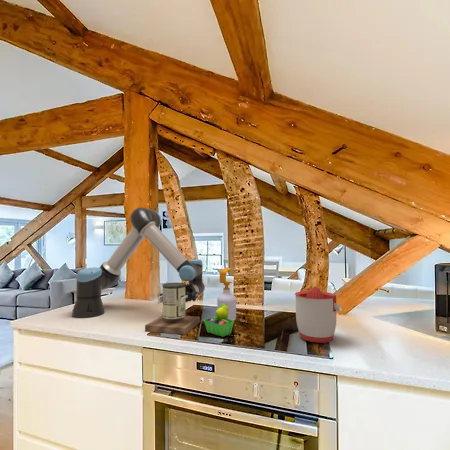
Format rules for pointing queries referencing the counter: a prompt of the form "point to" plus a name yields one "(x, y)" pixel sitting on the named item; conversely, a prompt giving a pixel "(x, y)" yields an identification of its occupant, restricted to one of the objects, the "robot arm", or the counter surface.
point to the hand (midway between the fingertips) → (169, 300)
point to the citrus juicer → (316, 315)
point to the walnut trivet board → (173, 325)
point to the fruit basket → (220, 322)
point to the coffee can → (173, 300)
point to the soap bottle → (227, 296)
